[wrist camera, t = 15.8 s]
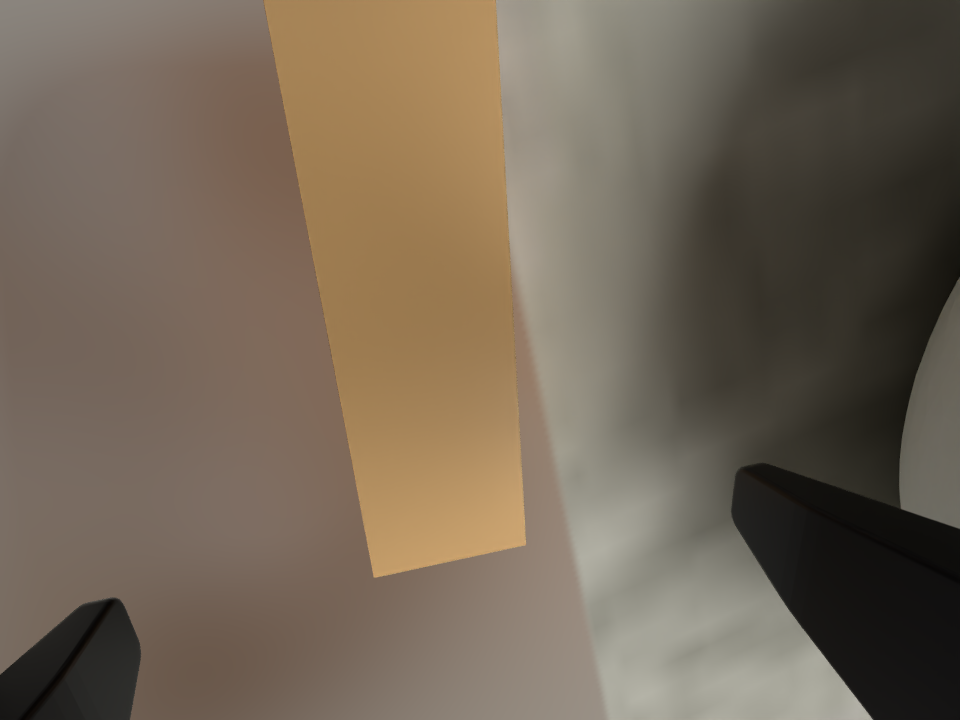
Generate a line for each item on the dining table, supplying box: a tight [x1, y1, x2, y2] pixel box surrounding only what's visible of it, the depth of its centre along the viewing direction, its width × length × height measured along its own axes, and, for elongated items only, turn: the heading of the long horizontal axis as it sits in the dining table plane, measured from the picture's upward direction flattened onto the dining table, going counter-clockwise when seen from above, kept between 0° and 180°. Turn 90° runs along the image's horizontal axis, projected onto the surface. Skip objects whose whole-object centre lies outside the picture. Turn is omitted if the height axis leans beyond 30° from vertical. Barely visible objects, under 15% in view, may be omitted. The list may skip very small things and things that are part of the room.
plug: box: [263, 0, 526, 578], centre depth 10 cm, size 4×14×4 cm, turn 4°
